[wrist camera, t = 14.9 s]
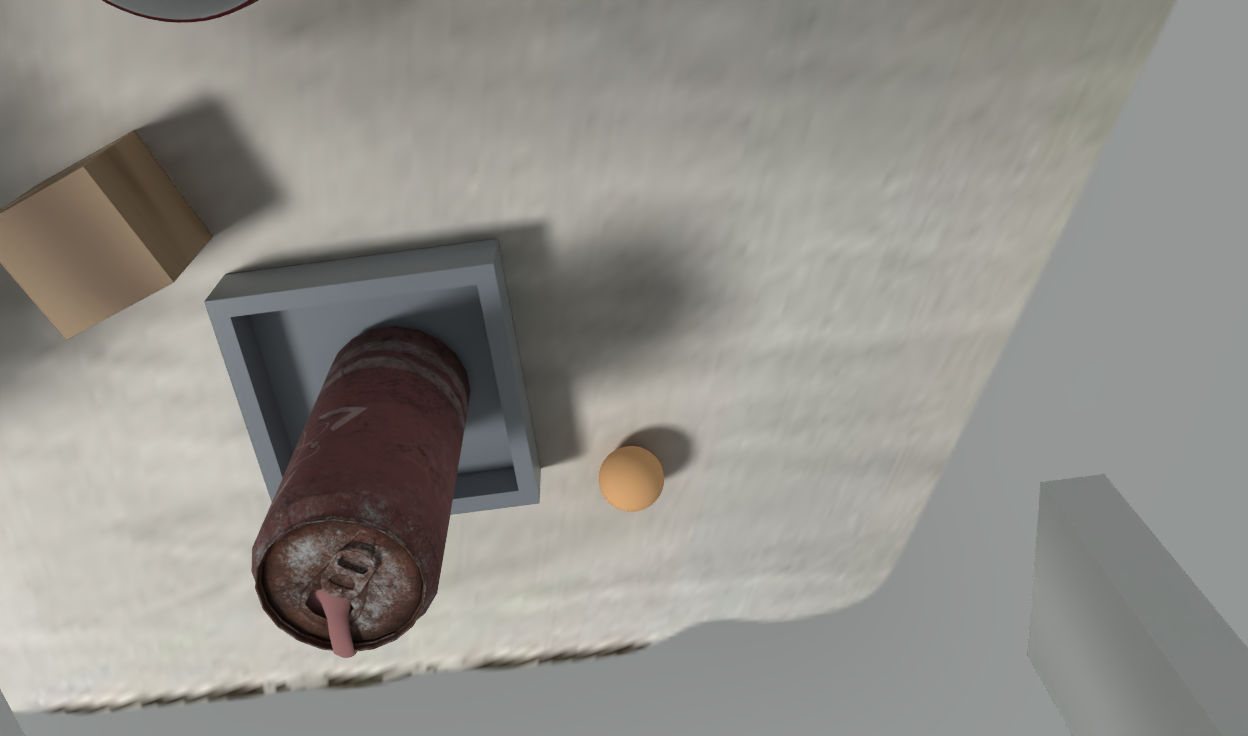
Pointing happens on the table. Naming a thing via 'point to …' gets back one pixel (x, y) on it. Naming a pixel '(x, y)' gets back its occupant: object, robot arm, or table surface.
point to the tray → (369, 299)
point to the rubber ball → (631, 478)
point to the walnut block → (99, 236)
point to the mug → (180, 8)
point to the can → (366, 495)
